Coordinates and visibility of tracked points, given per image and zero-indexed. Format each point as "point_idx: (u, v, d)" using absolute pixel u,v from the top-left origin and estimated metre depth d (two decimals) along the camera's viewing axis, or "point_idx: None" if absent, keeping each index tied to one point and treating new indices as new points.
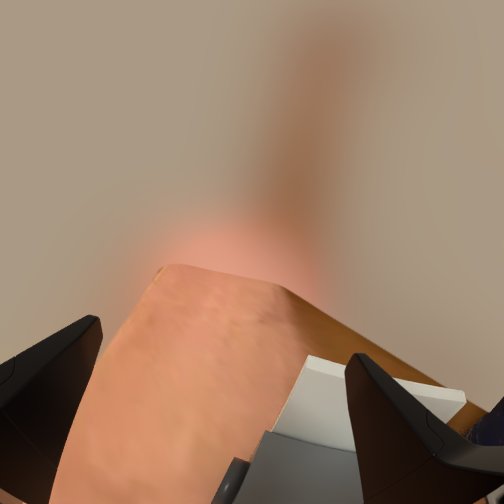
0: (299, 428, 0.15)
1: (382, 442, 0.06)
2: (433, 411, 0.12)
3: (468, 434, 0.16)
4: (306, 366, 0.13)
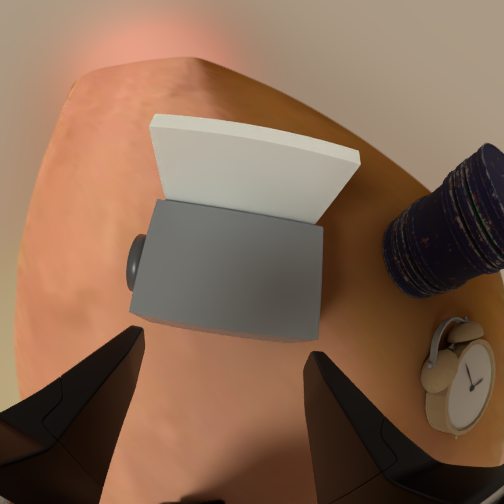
0: (184, 190, 0.18)
1: (333, 449, 0.06)
2: (318, 168, 0.14)
3: (405, 213, 0.24)
4: (150, 125, 0.12)
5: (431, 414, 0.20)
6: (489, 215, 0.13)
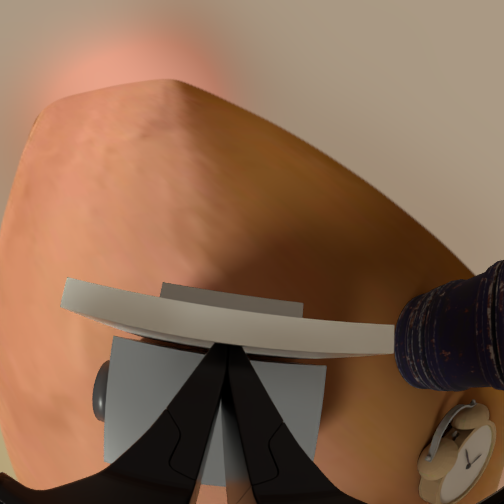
0: (143, 334, 0.12)
1: (230, 449, 0.05)
2: (328, 354, 0.09)
3: (425, 306, 0.19)
4: (62, 304, 0.07)
5: (423, 493, 0.15)
6: None
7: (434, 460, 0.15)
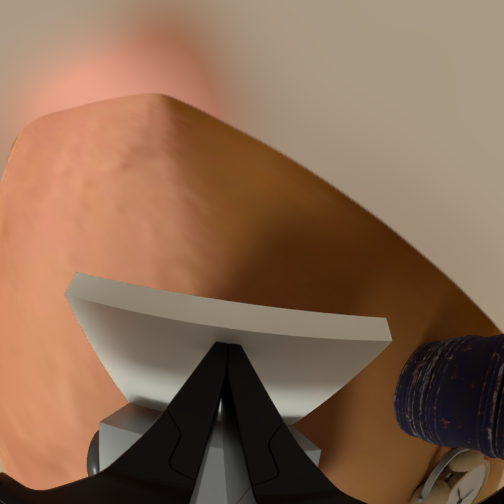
0: (135, 377, 0.11)
1: (230, 449, 0.05)
2: (328, 356, 0.09)
3: (431, 366, 0.16)
4: (66, 292, 0.07)
5: None
6: None
7: (425, 502, 0.13)
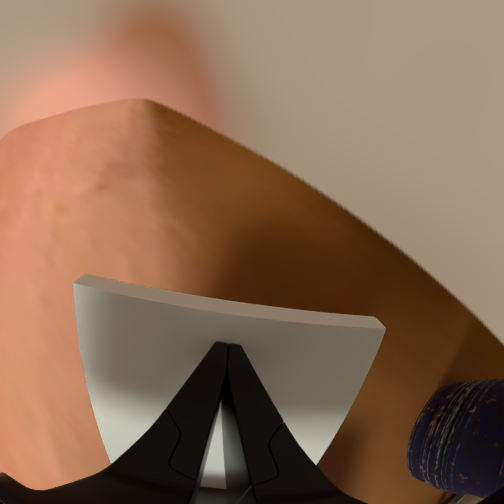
0: (123, 413, 0.09)
1: (230, 449, 0.05)
2: (328, 355, 0.09)
3: (450, 419, 0.12)
4: (75, 282, 0.08)
5: None
6: None
7: None
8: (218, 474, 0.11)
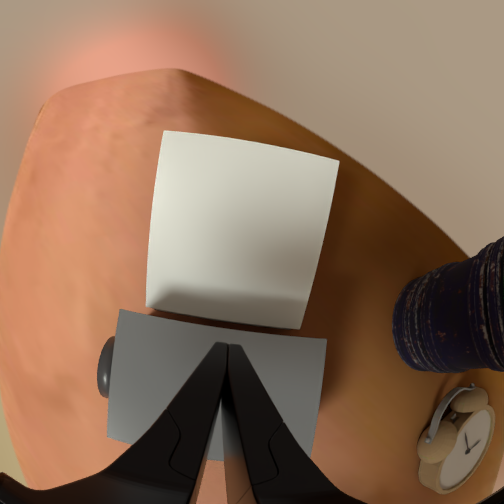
0: (174, 226, 0.17)
1: (230, 449, 0.05)
2: (306, 172, 0.16)
3: (421, 288, 0.20)
4: None
5: (423, 477, 0.16)
6: None
7: (433, 442, 0.16)
8: (235, 296, 0.18)
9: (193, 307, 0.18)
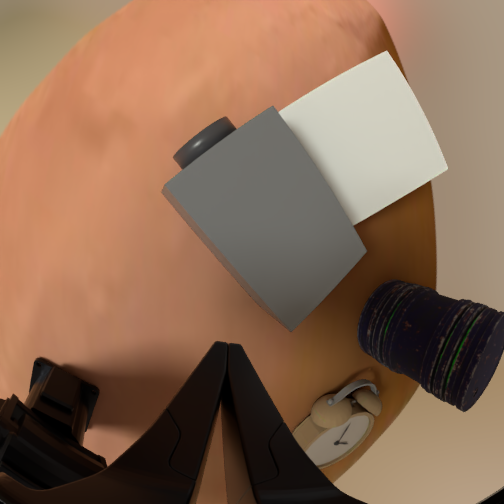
0: (339, 98, 0.17)
1: (230, 449, 0.05)
2: (430, 154, 0.18)
3: (411, 287, 0.25)
4: (386, 51, 0.15)
5: (296, 435, 0.27)
6: (462, 362, 0.15)
7: (333, 407, 0.25)
8: (327, 174, 0.20)
9: None
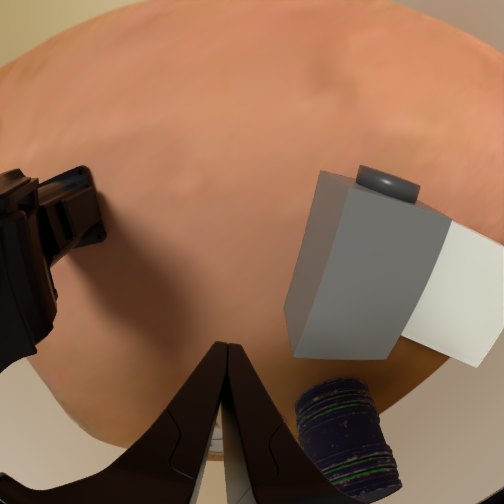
0: (480, 256, 0.16)
1: (230, 449, 0.05)
2: (479, 348, 0.17)
3: (370, 402, 0.26)
4: None
5: None
6: (349, 485, 0.16)
7: None
8: None
9: None
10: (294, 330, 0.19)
